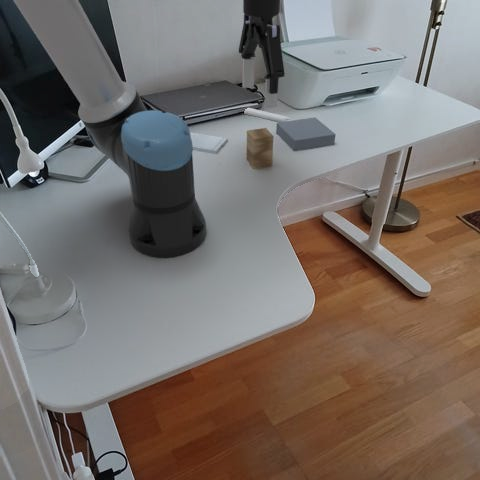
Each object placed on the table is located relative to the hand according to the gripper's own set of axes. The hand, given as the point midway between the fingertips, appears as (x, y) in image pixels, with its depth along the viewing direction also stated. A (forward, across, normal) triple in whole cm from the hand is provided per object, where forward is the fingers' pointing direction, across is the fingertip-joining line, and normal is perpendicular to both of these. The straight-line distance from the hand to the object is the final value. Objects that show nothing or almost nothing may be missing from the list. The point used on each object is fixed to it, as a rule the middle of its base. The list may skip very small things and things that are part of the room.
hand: (259, 96), depth 104 cm
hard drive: (+18, +15, +10) cm, 25 cm away
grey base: (+17, +8, -18) cm, 25 cm away
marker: (+17, +25, -13) cm, 33 cm away
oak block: (+17, -1, 0) cm, 17 cm away
